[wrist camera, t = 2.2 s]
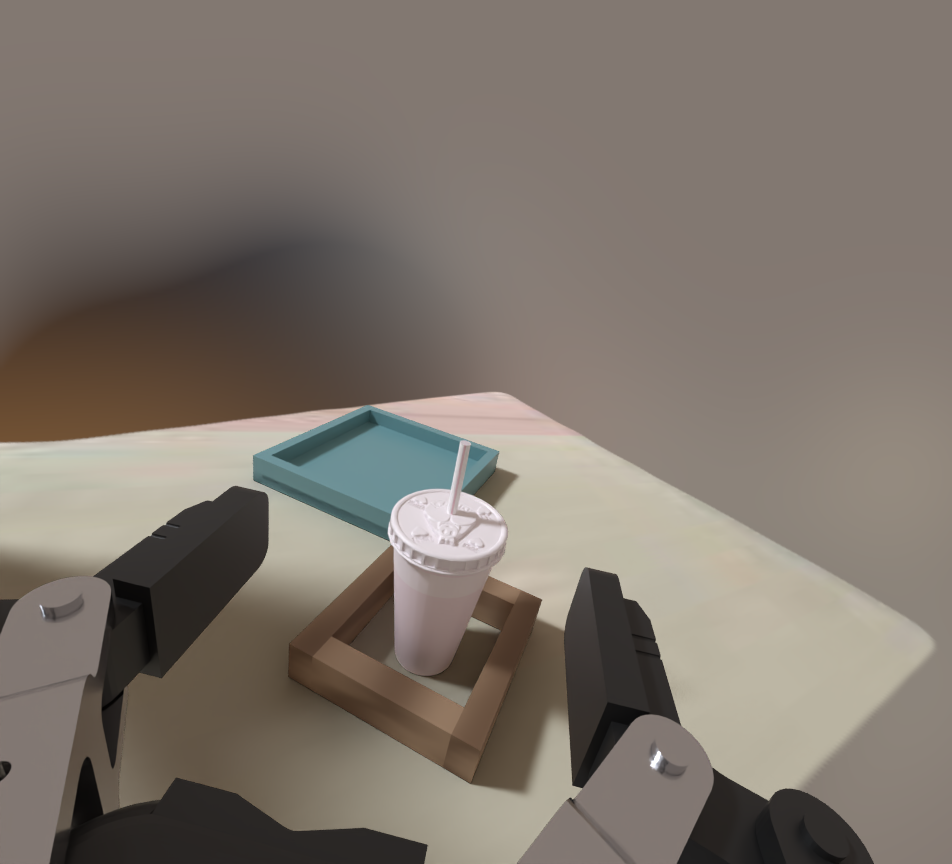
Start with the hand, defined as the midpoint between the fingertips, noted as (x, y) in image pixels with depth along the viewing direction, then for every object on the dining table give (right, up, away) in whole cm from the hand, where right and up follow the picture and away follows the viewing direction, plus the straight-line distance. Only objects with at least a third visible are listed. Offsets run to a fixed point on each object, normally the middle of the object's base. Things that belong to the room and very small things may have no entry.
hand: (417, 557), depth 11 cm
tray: (-7, -1, +35) cm, 35 cm away
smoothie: (-2, -10, +17) cm, 20 cm away
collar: (-2, -10, +17) cm, 20 cm away
